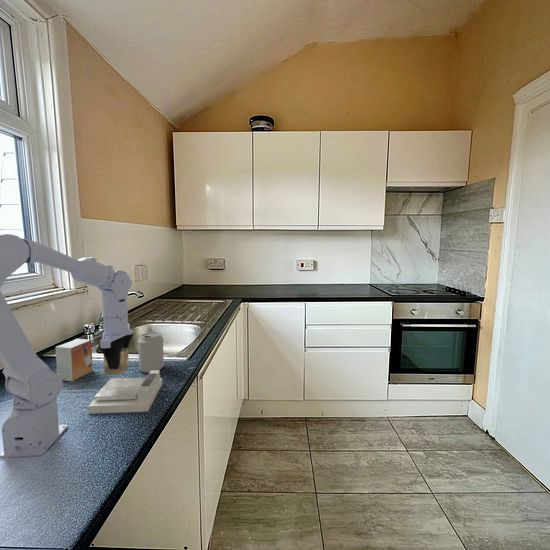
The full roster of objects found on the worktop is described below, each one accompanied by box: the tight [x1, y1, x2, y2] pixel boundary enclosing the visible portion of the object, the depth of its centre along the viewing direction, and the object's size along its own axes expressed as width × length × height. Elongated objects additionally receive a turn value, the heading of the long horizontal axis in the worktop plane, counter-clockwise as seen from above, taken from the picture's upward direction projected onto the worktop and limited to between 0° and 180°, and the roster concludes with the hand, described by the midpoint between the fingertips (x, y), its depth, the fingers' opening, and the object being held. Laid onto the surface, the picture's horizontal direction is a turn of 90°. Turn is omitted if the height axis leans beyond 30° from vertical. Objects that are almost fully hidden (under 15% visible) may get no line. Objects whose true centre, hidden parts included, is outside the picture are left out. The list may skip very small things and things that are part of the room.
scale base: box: [88, 370, 163, 415], centre depth 82 cm, size 14×14×5 cm
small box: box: [55, 338, 94, 382], centre depth 94 cm, size 8×6×10 cm
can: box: [137, 331, 165, 374], centre depth 100 cm, size 8×8×12 cm
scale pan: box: [93, 377, 146, 401], centre depth 82 cm, size 10×10×1 cm
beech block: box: [103, 347, 130, 376], centre depth 81 cm, size 4×4×6 cm
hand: (117, 364), depth 82 cm, fingers closed on beech block, 4 cm apart
